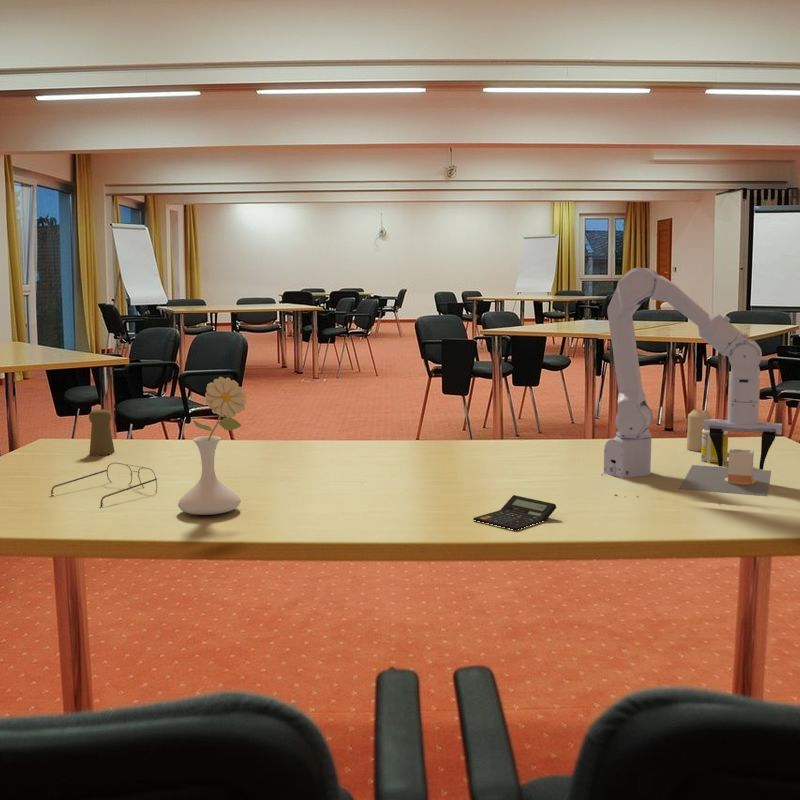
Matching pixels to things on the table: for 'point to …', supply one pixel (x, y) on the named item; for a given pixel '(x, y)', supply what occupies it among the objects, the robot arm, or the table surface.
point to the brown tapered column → (101, 433)
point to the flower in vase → (209, 490)
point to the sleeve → (740, 465)
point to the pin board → (725, 481)
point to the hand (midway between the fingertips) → (740, 467)
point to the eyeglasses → (110, 481)
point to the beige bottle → (696, 429)
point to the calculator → (519, 513)
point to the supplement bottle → (712, 447)
